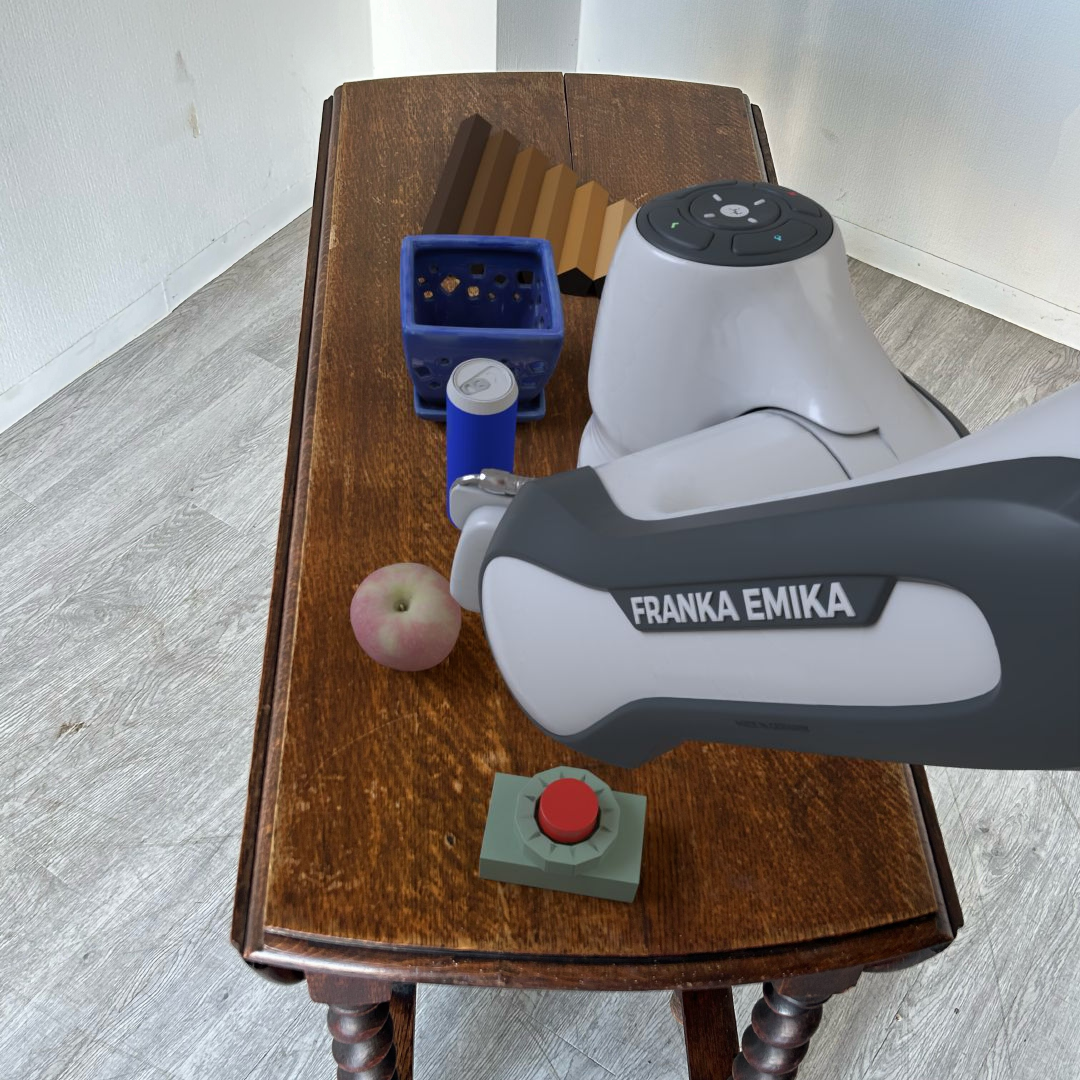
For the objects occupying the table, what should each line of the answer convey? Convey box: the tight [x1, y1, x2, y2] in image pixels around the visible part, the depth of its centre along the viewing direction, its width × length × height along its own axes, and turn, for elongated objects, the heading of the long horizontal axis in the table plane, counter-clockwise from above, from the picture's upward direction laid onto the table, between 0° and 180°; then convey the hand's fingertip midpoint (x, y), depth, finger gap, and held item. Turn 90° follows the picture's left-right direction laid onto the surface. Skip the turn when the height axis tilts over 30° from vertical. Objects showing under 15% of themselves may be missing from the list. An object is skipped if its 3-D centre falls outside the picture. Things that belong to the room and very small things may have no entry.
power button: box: [539, 778, 598, 843], centre depth 69 cm, size 4×4×2 cm
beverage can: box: [446, 358, 518, 532], centre depth 85 cm, size 5×5×15 cm
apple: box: [349, 562, 462, 672], centre depth 79 cm, size 8×8×8 cm
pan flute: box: [419, 112, 639, 300], centre depth 117 cm, size 25×3×25 cm
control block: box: [478, 765, 648, 904], centre depth 71 cm, size 10×6×5 cm, turn 82°
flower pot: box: [399, 234, 566, 423], centre depth 96 cm, size 13×13×12 cm
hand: (631, 670), depth 62 cm, fingers closed
